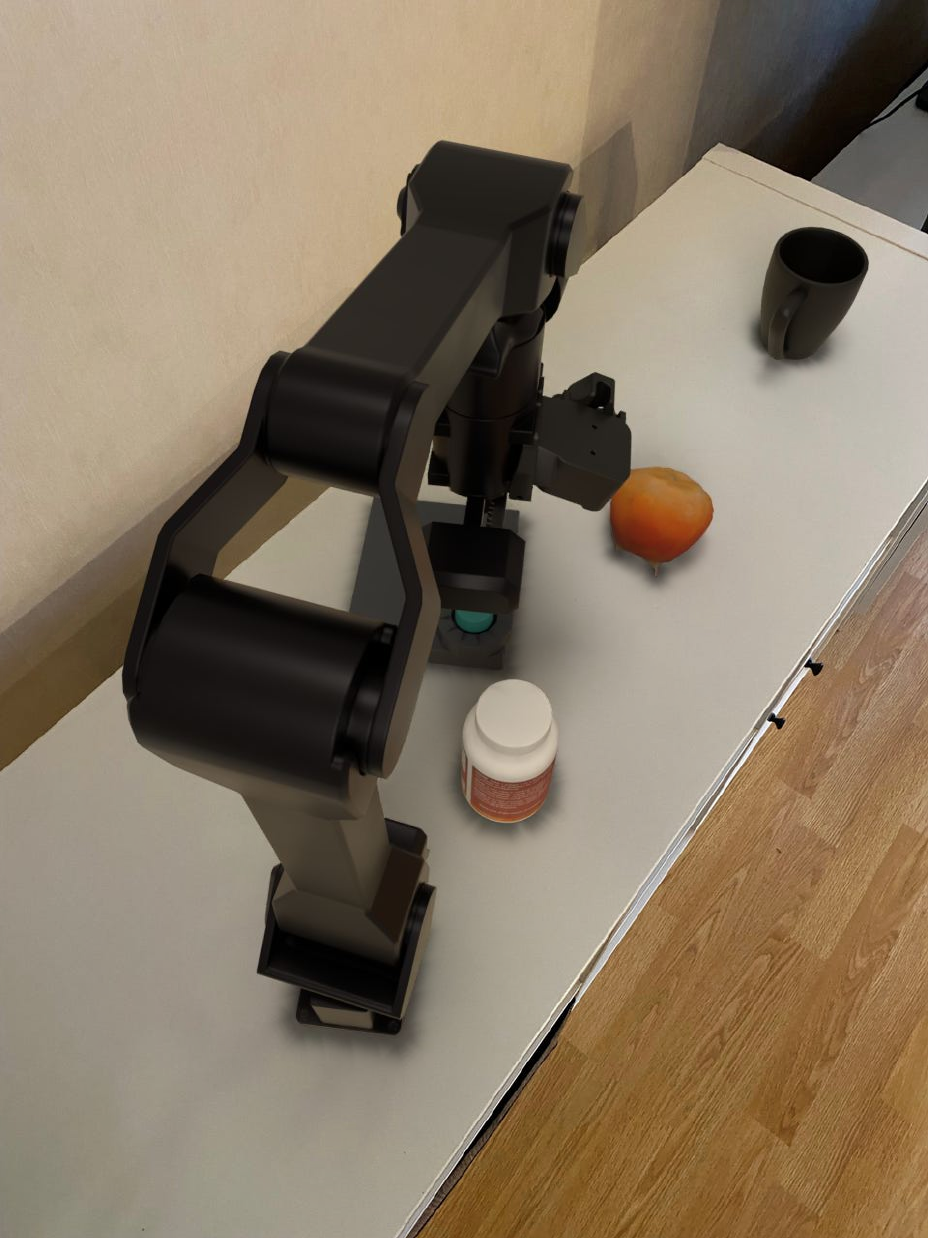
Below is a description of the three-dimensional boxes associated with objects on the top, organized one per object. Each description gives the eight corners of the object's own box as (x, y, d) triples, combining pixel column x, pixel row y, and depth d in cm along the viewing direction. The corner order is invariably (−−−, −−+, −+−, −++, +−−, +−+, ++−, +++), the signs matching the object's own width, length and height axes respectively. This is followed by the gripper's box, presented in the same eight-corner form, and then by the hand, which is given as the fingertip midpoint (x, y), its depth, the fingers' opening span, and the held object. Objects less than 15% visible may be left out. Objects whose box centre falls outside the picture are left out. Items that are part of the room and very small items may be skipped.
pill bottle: (566, 796, 67) (586, 726, 58) (493, 842, 65) (502, 778, 56) (515, 728, 70) (526, 650, 61) (443, 771, 68) (444, 698, 59)
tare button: (491, 635, 71) (491, 624, 69) (453, 631, 71) (453, 619, 69) (494, 603, 72) (495, 591, 71) (457, 599, 72) (457, 587, 71)
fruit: (579, 559, 76) (612, 466, 73) (605, 531, 83) (637, 445, 79) (674, 600, 74) (714, 507, 71) (694, 567, 81) (730, 481, 77)
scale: (506, 675, 72) (509, 651, 69) (344, 657, 73) (339, 633, 70) (522, 525, 80) (525, 497, 77) (375, 509, 81) (372, 482, 78)
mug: (712, 368, 90) (738, 284, 82) (769, 299, 96) (799, 214, 88) (792, 406, 88) (827, 323, 80) (846, 333, 93) (884, 249, 85)
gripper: (632, 534, 46) (590, 689, 59) (639, 281, 56) (602, 461, 69) (402, 511, 47) (411, 669, 60) (449, 263, 57) (448, 446, 70)
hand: (476, 554), depth 65 cm, fingers open, 7 cm apart
